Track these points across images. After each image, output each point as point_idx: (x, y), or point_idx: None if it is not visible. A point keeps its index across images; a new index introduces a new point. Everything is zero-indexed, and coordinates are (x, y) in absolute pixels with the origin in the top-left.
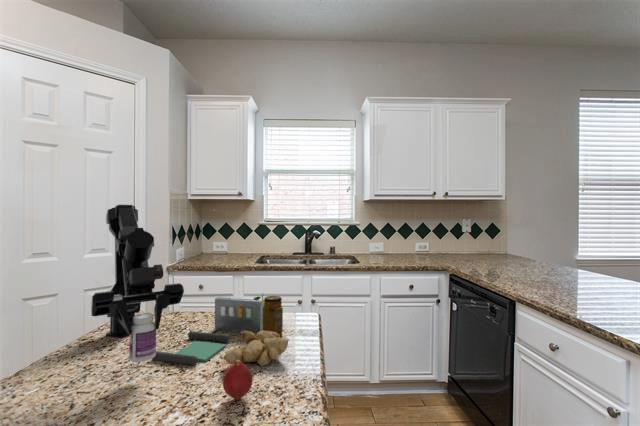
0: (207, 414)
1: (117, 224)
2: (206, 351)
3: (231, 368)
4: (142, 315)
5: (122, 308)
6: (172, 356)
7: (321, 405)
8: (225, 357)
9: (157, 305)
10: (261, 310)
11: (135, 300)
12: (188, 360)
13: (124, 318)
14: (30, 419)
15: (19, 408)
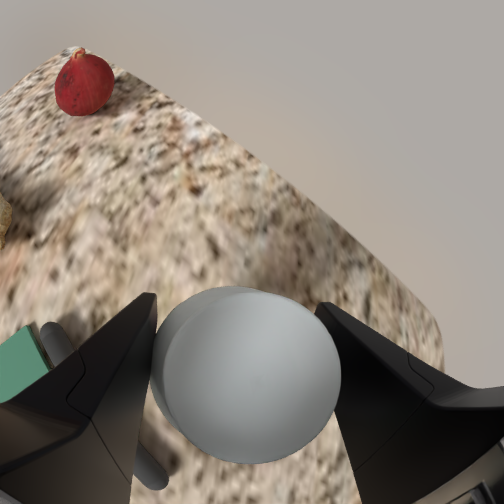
0: (154, 104)
1: None
2: (7, 382)
3: (92, 60)
4: (264, 386)
5: (466, 398)
6: None
7: (48, 60)
8: (6, 219)
9: (82, 418)
10: None
11: None
12: (65, 340)
13: (403, 352)
14: (416, 299)
15: (432, 356)
